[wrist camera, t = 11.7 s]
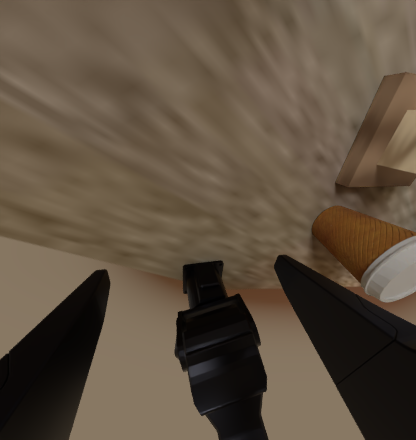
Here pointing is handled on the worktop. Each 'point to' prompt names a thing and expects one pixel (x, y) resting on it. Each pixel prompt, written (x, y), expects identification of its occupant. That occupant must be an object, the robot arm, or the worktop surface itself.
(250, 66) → the worktop surface
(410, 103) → the walnut board
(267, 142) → the worktop surface
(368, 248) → the disposable coffee cup
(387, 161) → the maple cube
